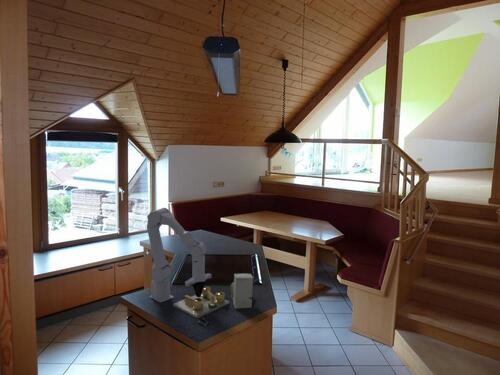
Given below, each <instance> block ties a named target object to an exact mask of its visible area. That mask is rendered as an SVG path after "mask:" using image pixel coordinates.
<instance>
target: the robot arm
mask: <svg viewBox="0 0 500 375" xmlns="http://www.w3.org/2000/svg"><path fill="white" fill-rule="evenodd" d="M146 218H147V224H146V230H147V236H148V239H149V244H150V249H151V254H152V258H153V264H152V267H151V282H150V295H149V298H151V299H152V300H155V301H156V302H158V303H163V302H166V301H169V300H171V299H174V296H173V295H171V276H172V275H173V273H174V270H173V268H172V266H171V264H170V262H169V261H168V260H167V259H166V255H165V250H164V246H163V241H162V235H161V232H160V228H161V227H162V225H163V226H168V227H169V228H170V229H172V231H174V232H175V233H176V234H177V235H178V236H179V240H180V242H182V243H183V244H184V246H186V248H187V249H188V250H189V255H190V256H191V258H192V262H191V263H192V264H191V265H192V272H191V273H192V277H190V278H189V279H187V280H186V281H184V286H186V287H190V286H192V288H193V290H194V292H195V295H196V297H201V295H202V291H203V288H204V286H206V284H207V282H206V280H210V279H212V274H211V273H210V272H209V273H205V270H206V268H205V266H206V265H205V264H206V258H205V257H206V256H205V255H206V252H207V249H208V247H207V244H205V242H203V241H200V239H197V237H196V236H194V233H193V232H192V231H190V230H185V229H184V227H183V226H182V225H181V224H180V223H179V222H178V220H177V219H176V218H175V217H174V215H173V213H172V212H171V211H170V210H169V209H168V208H167V207H161V208H158V209H156V210H152V211H150V212H149V214H147V216H146Z"/></svg>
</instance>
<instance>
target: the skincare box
mask: <svg viewBox="0 0 500 375" xmlns="http://www.w3.org/2000/svg"><path fill="white" fill-rule="evenodd" d="M233 278H234V279H233V282H234V296H233V297H232V298H233V300H232V301H233V302H232V305H233V307H234V309H236V310H237V309H250V308H252V304H253V287H254V284H253V283H254V276H253V275H252V273H233Z"/></svg>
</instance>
